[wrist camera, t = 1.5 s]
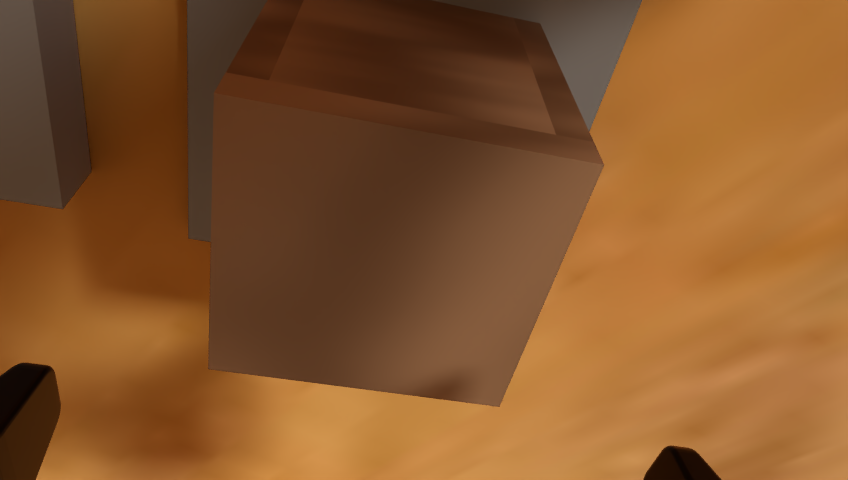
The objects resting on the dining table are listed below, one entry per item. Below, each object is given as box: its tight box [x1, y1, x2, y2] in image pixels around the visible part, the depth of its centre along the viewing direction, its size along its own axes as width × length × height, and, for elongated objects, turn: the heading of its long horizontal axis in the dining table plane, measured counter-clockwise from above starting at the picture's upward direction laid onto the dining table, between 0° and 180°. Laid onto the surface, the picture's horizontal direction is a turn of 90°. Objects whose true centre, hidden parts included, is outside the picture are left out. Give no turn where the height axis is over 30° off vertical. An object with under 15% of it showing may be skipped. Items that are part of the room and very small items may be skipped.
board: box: [187, 0, 642, 242], centre depth 16 cm, size 11×11×6 cm
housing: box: [208, 0, 604, 407], centre depth 15 cm, size 6×6×7 cm
